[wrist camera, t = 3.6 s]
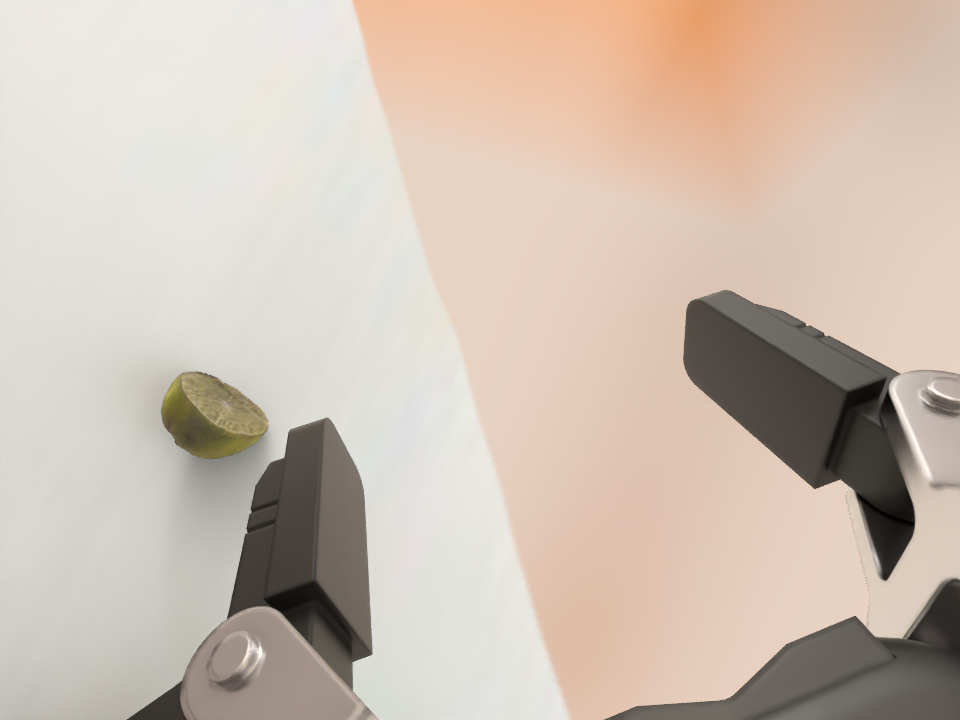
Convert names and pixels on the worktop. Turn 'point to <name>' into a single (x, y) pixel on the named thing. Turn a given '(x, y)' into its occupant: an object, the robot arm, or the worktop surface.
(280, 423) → the worktop surface
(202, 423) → the lime
